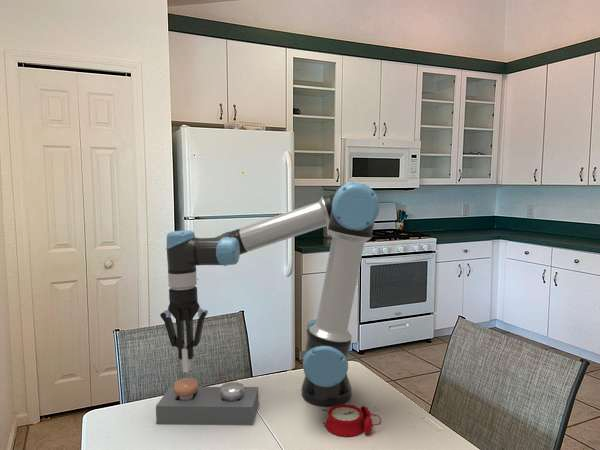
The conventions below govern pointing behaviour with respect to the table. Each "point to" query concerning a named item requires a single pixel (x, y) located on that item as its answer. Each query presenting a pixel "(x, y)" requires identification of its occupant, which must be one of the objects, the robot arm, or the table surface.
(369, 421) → the alarm clock
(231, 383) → the metal plunger
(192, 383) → the terracotta plunger
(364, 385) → the table surface
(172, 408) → the panel
